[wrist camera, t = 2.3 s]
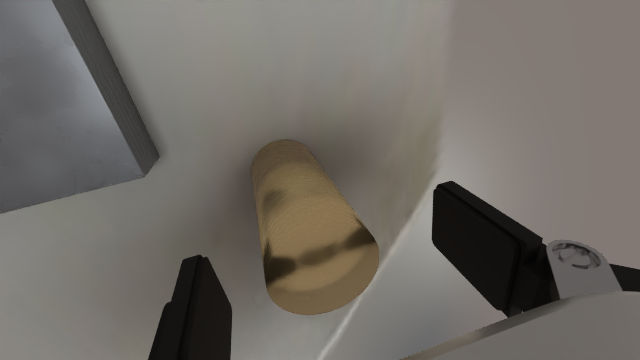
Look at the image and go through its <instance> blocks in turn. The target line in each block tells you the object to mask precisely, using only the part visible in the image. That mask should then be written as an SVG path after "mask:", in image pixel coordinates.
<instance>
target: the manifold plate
mask: <svg viewBox="0 0 640 360" xmlns="http://www.w3.org/2000/svg"><path fill="white" fill-rule="evenodd" d="M158 158H159V155H158V153H157V151H156V149H155V147H154V145H153V142H152V140H151V138H150V136H149V134H148V132H147V130H146V128H145V126H144V124H143V122H142V120H141V118H140V115H139V113H138V111H137V109H136V107H135V105H134V103H133V101H132V99H131V97H130V95H129V93H128V91H127V88H126V86H125V84H124V82H123V80H122V78H121V76H120V74H119V72H118V70H117V68H116V66H115V63H114V61H113V59H112V57H111V55H110V53H109V51H108V49H107V47H106V45H105V43H104V41H103V39H102V36H101V34H100V32H99V30H98V28H97V26H96V24H95V22H94V20H93V18H92V16H91V14H90V12H89V9H88V7H87V5H86V3H85V1H84V0H0V214H1V213H5V212H9V211H13V210H17V209H21V208H24V207H28V206H32V205H36V204H40V203H44V202H48V201H52V200H56V199H60V198H64V197H68V196H72V195H76V194H79V193H83V192H87V191H91V190H95V189H99V188H103V187H107V186H111V185H115V184H119V183H123V182H127V181H131V180H135V179H138V178H142V177H145V176H146V175H147V173H148V172H149V171H150V169H151V168H152V166H153V165H154V164H155V162H156V161H157V160H158Z"/></svg>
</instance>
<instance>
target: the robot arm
mask: <svg viewBox="0 0 640 360" xmlns="http://www.w3.org/2000/svg"><path fill="white" fill-rule="evenodd" d="M432 219H433V220H432V241H433V244H434V246H435V247H436V248H437V249H438V250H439V251H440V252H441V253H442V254H443V255H444V256H445V257H446V258H447V259H448V260H449V261H450V262H451V263H452V264H453V265H454V266H455V268H457V270H458V271H459V272H460V273H461V274H462V275H463V276H464V277H465V278H466V279H467V280H468V281H469V282H470V283H471V284H472V285H473V286H474V287H475V288H476V289H477V290H478V291H479V292H480V293H481V294H482V295H483V297H484V298H485V299H486V300H487V301H488V302H489V303H490V304H491V305H492V306H493V307H494V308H495V309H497V310H501V311H502V312H503V313H504V314H505V315H506V316H507V317H508V318H507V319H504V320H502V321H500V322H496V323H494V324H491V325H489V326H486V327H483V328H481V329H478V330H475V331H473V332H470V333H468V334H465V335H462V336H460V337H457V338H454V339H452V340H449V341H447V342H444V343H441V344H439V345H437V346H434V347H431V348H429V349H426V350H423V351H421V352H418V353H416V354H413V355H411V356H408V357H405V358H403V359H400V360H640V270H639V269H634V268H629V267H624V266H619V265H614V264H609V263H608V262H607V260H606V258H605V257H604V256H603V255H602V254H601V253H600V252H598V251H597V250H595V249H594V248H592V247H590V246H588V245H585V244H582V243H580V242H575V241H570V240H556V241H552V242H550V243H549V244H548V245H547V246H546V245H545V244H543V243H542V239H543V238H541V237H540V236H538V235H537V234H535V233H533V232H532V231H530V230H529V229H527V228H526V227H524V226H522V225H521V224H519V223H518V222H516V221H515V220H513V219H512V218H510V217H508V216H506V215H505V214H503V213H502V212H501V211H499V210H497V209H496V208H494V207H493V206H491V205H489V204H488V203H486V202H485V201H483V200H482V199H480V198H479V197H477V196H475V195H474V194H472V193H471V192H469V191H468V190H466V189H464V188H463V187H461V186H460V185H458V184H457V183H455V182H453V181H449V182H445V183H441V184H438V185H437V187H436V189H434V192H433V218H432ZM522 311H523V313H522ZM231 330H232V308H231V304H230V302H229V300H228V298H227V296H226V294H225V292H224V290H223V288H222V286H221V284H220V282H219V280H218V278H217V275H216V273H215V271H214V269H213V267H212V265H211V263H210V261H209V259H208V258H207V257H204V258H203V257H202V256H201V255H196V256H193V257H190V258H186V259H184V260H183V261H182V264H181V268H180V271H179V275H178V278H177V282H176V286H175V289H174V293H173V296H172V300H171V302H168V303H167V304H166V305H165V307H164V309H163V312H162V315H161V318H160V322H159V325H158V328H157V332H156V335H155V338H154V342H153V345H152V348H151V351H150V355H149V358H148V360H230V355H231Z"/></svg>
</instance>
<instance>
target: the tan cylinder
mask: <svg viewBox="0 0 640 360" xmlns="http://www.w3.org/2000/svg"><path fill="white" fill-rule="evenodd" d="M252 180H253V188H254V196H255V204H256V211H257V219H258V227H259V235H260V243H261V251H262V258H263V266H264V274H265V282H266V288H267V291H268V293H269V295H270V297H271V299H272V300H273V301H274V302H275V303H276V304H277V305H278V306H279V307H281V308H282V309H284V310H287V311H289V312H292V313H296V314H303V315H314V314H321V313H326V312H329V311H332V310H335V309H338V308H340V307H342V306H344V305H346V304H347V303H349V302H351V301H352V300H353V299H355V298H356V297H357V296H359V295H360V294H361V293H362V292H363V291H364V290H365V289H366V287H367V286H368V285H369V284H370V282H371V281H372V279H373V277H374V275H375V273H376V271H377V268H378V264H379V249H378V246H377V243H376V241H375V239H374V237H373V236H372V235H371V233H370V232H369V231H368V229H367V228H366V227H365V225H364V224H363V223H362V221H361V220H360V219H359V217H358V216H357V215H356V213H355V212H354V211H353V209H352V208H351V206H350V205H349V204H348V202H347V201H346V200H345V198H344V197H343V196H342V194H341V193H340V192H339V190H338V189H337V188H336V186H335V185H334V184H333V182H332V181H331V179H330V178H329V177H328V175H327V174H326V173H325V171H324V170H323V169H322V167H321V166H320V165H319V163H318V162H317V161H316V159H315V158H314V157H313V155H312V154H311V153H310V151H309V150H308V149H307V148H306V147H305V146H304V145H302V144H301V143H299V142H296V141H293V140H277V141H274V142H271V143H269V144H267V145H266V146H264V147H263V148H262V149H261V150H260V151H259V152H258V153H257V155H256V156H255V158H254V160H253V163H252Z"/></svg>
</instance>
